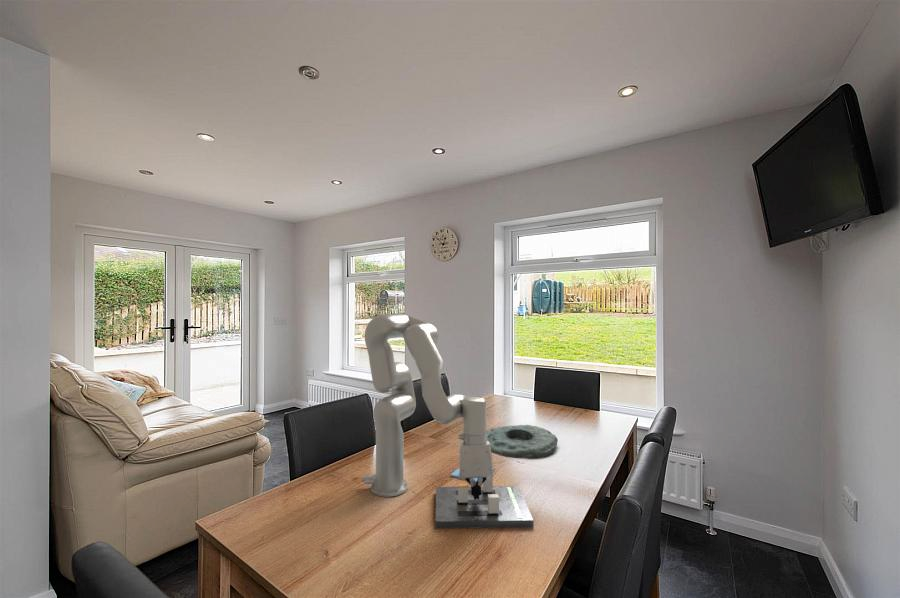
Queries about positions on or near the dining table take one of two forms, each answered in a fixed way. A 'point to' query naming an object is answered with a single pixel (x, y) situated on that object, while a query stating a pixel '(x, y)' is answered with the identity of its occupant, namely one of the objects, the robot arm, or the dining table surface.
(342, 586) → the dining table surface
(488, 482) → the block
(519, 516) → the panel
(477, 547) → the dining table surface
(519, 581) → the dining table surface
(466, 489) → the block
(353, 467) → the dining table surface
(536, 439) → the stone ring
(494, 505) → the block
